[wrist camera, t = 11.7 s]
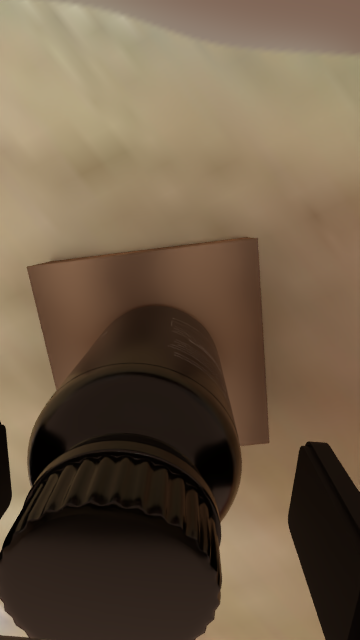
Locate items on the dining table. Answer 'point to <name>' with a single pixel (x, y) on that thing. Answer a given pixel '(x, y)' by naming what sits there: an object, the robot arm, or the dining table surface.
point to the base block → (171, 291)
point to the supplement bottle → (127, 489)
